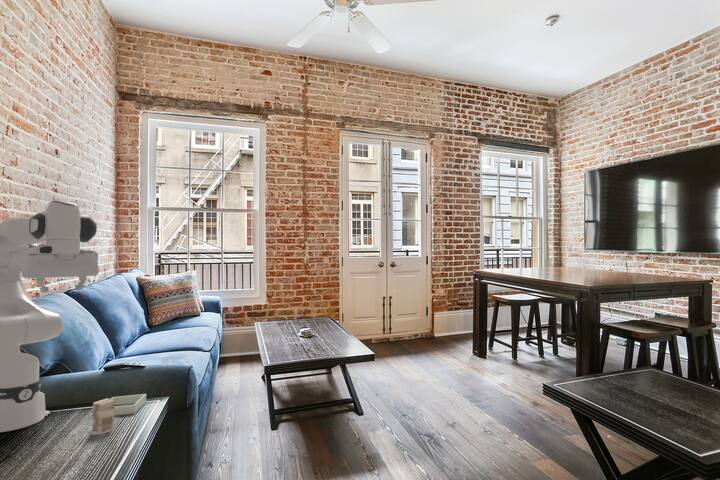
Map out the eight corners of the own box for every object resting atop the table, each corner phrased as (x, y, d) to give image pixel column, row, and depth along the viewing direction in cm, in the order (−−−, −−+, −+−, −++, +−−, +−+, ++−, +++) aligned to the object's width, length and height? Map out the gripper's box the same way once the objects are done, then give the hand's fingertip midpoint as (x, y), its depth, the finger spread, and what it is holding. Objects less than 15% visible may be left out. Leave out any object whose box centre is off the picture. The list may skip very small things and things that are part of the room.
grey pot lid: (83, 434, 121) (83, 421, 121) (109, 424, 128) (109, 412, 128) (96, 439, 117) (96, 426, 118) (122, 429, 124) (122, 416, 125)
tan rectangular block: (92, 430, 122) (93, 402, 123) (106, 425, 126) (107, 398, 126) (99, 432, 120) (100, 404, 120) (113, 427, 124) (114, 400, 124)
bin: (98, 419, 133) (98, 408, 133) (112, 407, 144) (112, 397, 145) (135, 415, 135) (135, 404, 136) (146, 403, 147) (146, 393, 147)
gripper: (93, 250, 132) (92, 288, 131) (19, 249, 114) (18, 293, 113) (102, 249, 129) (102, 288, 128) (28, 248, 111) (27, 294, 110)
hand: (62, 291), depth 120 cm, fingers open, 8 cm apart
